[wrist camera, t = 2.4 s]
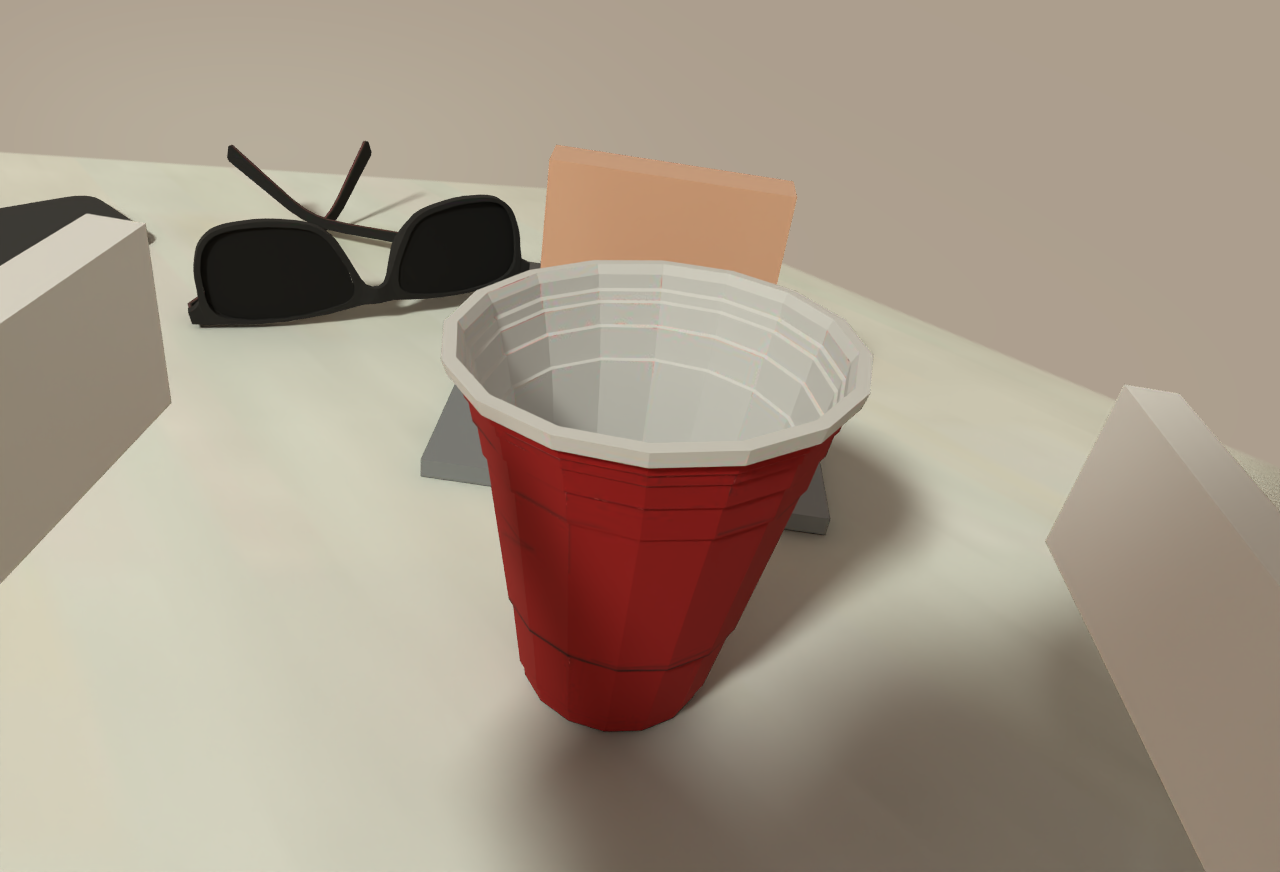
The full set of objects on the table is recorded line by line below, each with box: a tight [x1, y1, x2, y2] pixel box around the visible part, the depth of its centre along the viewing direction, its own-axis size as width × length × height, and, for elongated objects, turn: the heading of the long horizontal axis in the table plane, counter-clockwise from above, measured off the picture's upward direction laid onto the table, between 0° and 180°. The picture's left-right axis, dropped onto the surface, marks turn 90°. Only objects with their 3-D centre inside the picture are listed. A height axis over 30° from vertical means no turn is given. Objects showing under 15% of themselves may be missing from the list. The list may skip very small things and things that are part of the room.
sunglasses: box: [188, 141, 530, 325], centre depth 50 cm, size 17×14×5 cm
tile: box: [541, 145, 797, 285], centre depth 37 cm, size 9×2×11 cm, turn 86°
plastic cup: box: [441, 260, 873, 731], centre depth 27 cm, size 11×11×12 cm
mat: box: [421, 262, 830, 535], centre depth 45 cm, size 16×20×1 cm
